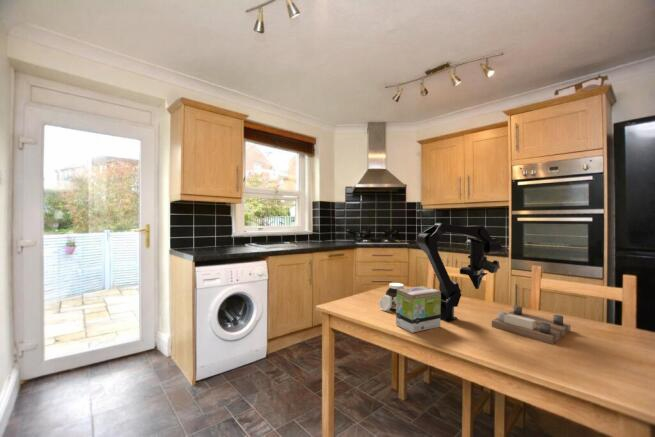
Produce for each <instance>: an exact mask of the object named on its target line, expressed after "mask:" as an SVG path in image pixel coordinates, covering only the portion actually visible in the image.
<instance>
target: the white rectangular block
mask: <svg viewBox="0 0 655 437" xmlns="http://www.w3.org/2000/svg"><path fill="white" fill-rule="evenodd" d="M497 318H498V321H500V322H505V323H509V324H512V325H516V326H520V327H523V328H527V329H531V330H533V329H535V320H533V319H529V318H525V317H521V316H517V315H513V314H509V312H506V311H498V312H497Z"/></svg>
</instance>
